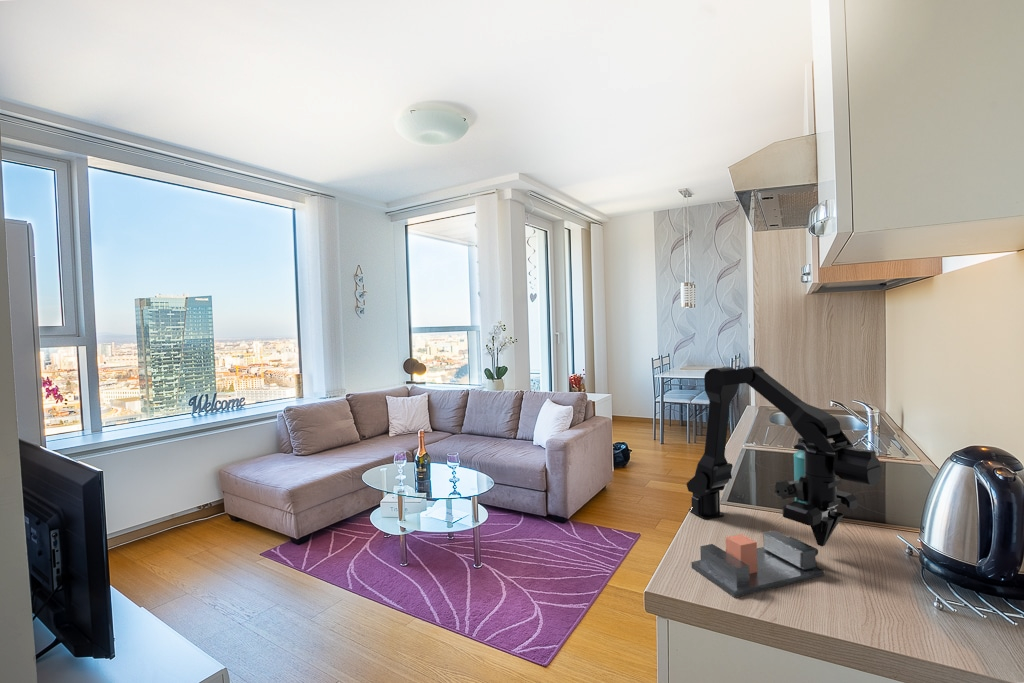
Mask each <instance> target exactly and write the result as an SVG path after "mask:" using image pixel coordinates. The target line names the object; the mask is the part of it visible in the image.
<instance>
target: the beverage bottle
mask: <svg viewBox="0 0 1024 683" xmlns="http://www.w3.org/2000/svg"><path fill="white" fill-rule="evenodd" d="M802 439H803V438H802V437H799V438H798V439H797V440H798V441H797V444H798V443H799V442H800V441H801V440H802ZM792 473H793V478H794V480H793V481H798V480H799V478H800V477H801V476H804V475H805V458H804V451H802V450H797V451H796V452H795V453H793V472H792ZM795 501H797V502H800V503H804V504H807V502H806V501H804V502H803V501H800V500H798V497H794V502H795Z"/></svg>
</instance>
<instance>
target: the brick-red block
mask: <svg viewBox="0 0 1024 683" xmlns="http://www.w3.org/2000/svg"><path fill="white" fill-rule="evenodd" d="M757 548H758V543H757V541H755V540H754V539H751V538H749V537H747V536H745V535H744V534H736V535H731V536H726V537H725V552H727V553H729V554H730V555H732V556H734V557H735V558H737V559H739V560H740V561H742V562H744V563H746V564H747V565H749V574H751V573H755V572H757Z"/></svg>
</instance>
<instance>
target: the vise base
mask: <svg viewBox="0 0 1024 683" xmlns="http://www.w3.org/2000/svg"><path fill="white" fill-rule="evenodd" d="M690 563H691V568H692V569H693V570H694V571H695V572H697V573H699V574H700V575H702V576H703V577H705V579H707V580H709V582H711V583H713V584H714V585H716V586H717V587H719V589H721V590H723V591H724V592H726V593H727V594H729V595H730V596H731V595H732V596H731V597H732V598H734V599H735V597H736V598H739V596H740V597H743V596H748V595H752V594H755V593H761V592H763V591H768V590H773V589H777V588H781V587H783V586H788V585H792V584H796V583H797V584H798V583H802V582H805V581H809V580H813V579H818V578H822V577H824V576H825V570H824V569H823V568H821V567H819V566H817V565H816V567H814V568H810V569H805V570H804V569H802V568H800V567H798V566H796V565H794V564H792V563H790V562H789V561H787V560H785V559H783V558H781V557H779V556H777V555H775V554H773V553H771V552H770V551H768V550H766V549H764V546H762V547H757V572H755V573H751V574H749V565H747V564H746V563H744V562H742V561H740V560H739V559H737V558H735V557H734V556H732V555H730V554H729V553H727V552H726V550H723V549H722V548H721V547H718V546H717V545H716V544H713V543H710V544H705V545H704V544H703V545H700V560H695V561H691V562H690Z"/></svg>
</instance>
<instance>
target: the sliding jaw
mask: <svg viewBox="0 0 1024 683" xmlns="http://www.w3.org/2000/svg"><path fill="white" fill-rule="evenodd" d="M762 534H763V541H762V542H763V547H764V549H766V550H768V551H770V552H771V553H773V554H775V555H777V556H779V557H781V558H783V559H785V560H787V561H789V562H790V563H792V564H794V565H796V566H798V567H800V568H802V569H804V570H805V569H810V568H814V567H816V566H817V564H816V562H817V560H816V557H817V555H818V554H819V550H818V548H817V547H815V546H812V545H810V544H807V543H806V542H804V541H802V540H799V539H797V538H795V537H793V536H787V535H784V534H783V533H781V532H779V531H777V530H775V529H773V530H769V531H765V532H763V533H762Z"/></svg>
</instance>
